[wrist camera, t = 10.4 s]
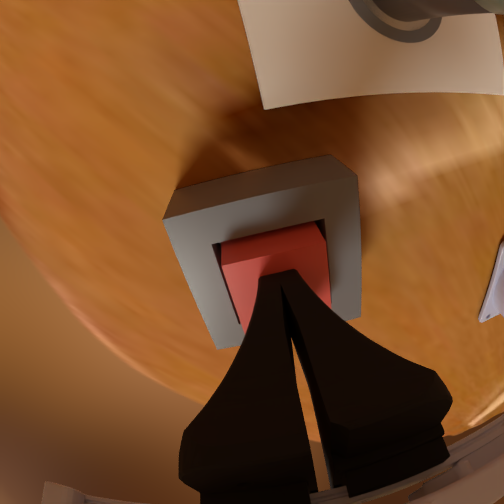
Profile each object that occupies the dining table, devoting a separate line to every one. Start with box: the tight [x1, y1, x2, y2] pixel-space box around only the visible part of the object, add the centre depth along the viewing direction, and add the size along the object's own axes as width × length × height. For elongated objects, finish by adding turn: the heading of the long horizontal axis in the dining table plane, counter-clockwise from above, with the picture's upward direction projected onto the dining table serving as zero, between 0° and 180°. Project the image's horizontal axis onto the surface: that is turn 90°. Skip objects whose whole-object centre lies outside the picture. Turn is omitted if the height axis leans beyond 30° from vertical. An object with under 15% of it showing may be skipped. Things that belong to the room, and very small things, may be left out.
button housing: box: [162, 155, 361, 350], centre depth 13 cm, size 7×7×3 cm
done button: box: [221, 221, 331, 334], centre depth 12 cm, size 4×4×2 cm
